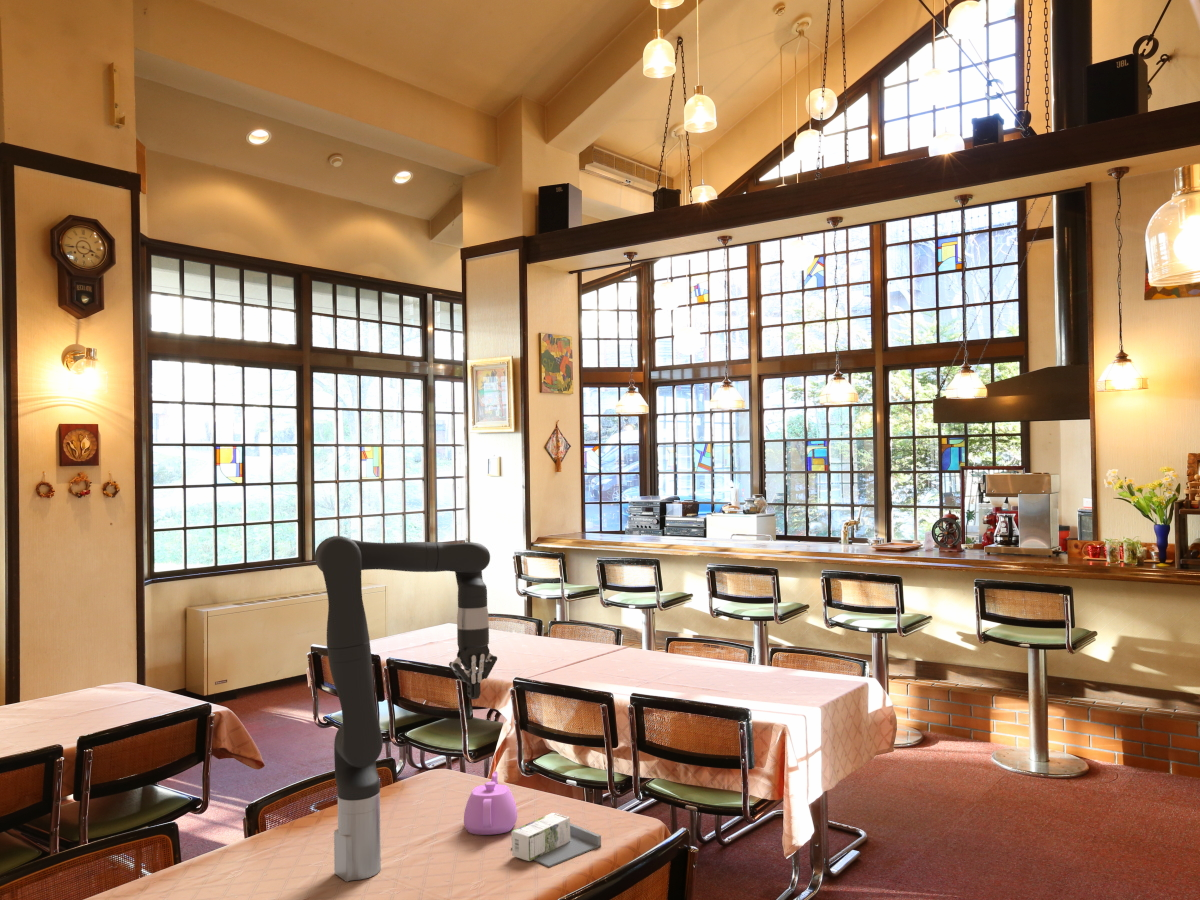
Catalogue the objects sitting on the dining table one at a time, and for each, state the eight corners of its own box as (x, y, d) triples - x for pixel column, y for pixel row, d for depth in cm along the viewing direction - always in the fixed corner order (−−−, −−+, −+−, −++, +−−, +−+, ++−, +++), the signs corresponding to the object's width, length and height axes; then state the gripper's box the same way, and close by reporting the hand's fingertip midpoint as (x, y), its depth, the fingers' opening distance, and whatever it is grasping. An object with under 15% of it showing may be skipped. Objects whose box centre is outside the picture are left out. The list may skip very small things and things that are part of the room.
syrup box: (511, 856, 198) (553, 835, 210) (529, 862, 195) (571, 840, 206) (510, 830, 199) (552, 811, 210) (529, 836, 195) (571, 816, 206)
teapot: (520, 811, 227) (520, 768, 228) (513, 842, 207) (513, 795, 208) (470, 812, 227) (469, 769, 228) (458, 843, 207) (457, 796, 208)
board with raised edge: (548, 867, 193) (548, 856, 193) (511, 849, 203) (510, 838, 203) (601, 846, 203) (600, 835, 204) (562, 830, 214) (562, 819, 214)
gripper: (458, 630, 200) (459, 706, 199) (504, 623, 209) (505, 696, 208) (440, 627, 205) (441, 701, 204) (486, 620, 214) (487, 691, 213)
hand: (474, 698), depth 206 cm, fingers closed
